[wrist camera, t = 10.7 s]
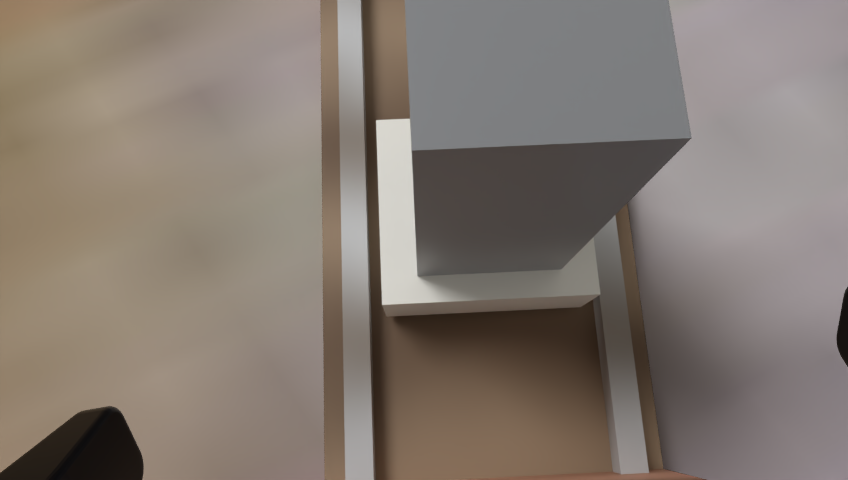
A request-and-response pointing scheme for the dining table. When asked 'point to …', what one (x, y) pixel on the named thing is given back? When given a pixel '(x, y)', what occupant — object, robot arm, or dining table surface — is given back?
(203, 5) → the dining table surface
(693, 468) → the dining table surface
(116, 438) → the robot arm
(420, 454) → the track
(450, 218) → the carriage
